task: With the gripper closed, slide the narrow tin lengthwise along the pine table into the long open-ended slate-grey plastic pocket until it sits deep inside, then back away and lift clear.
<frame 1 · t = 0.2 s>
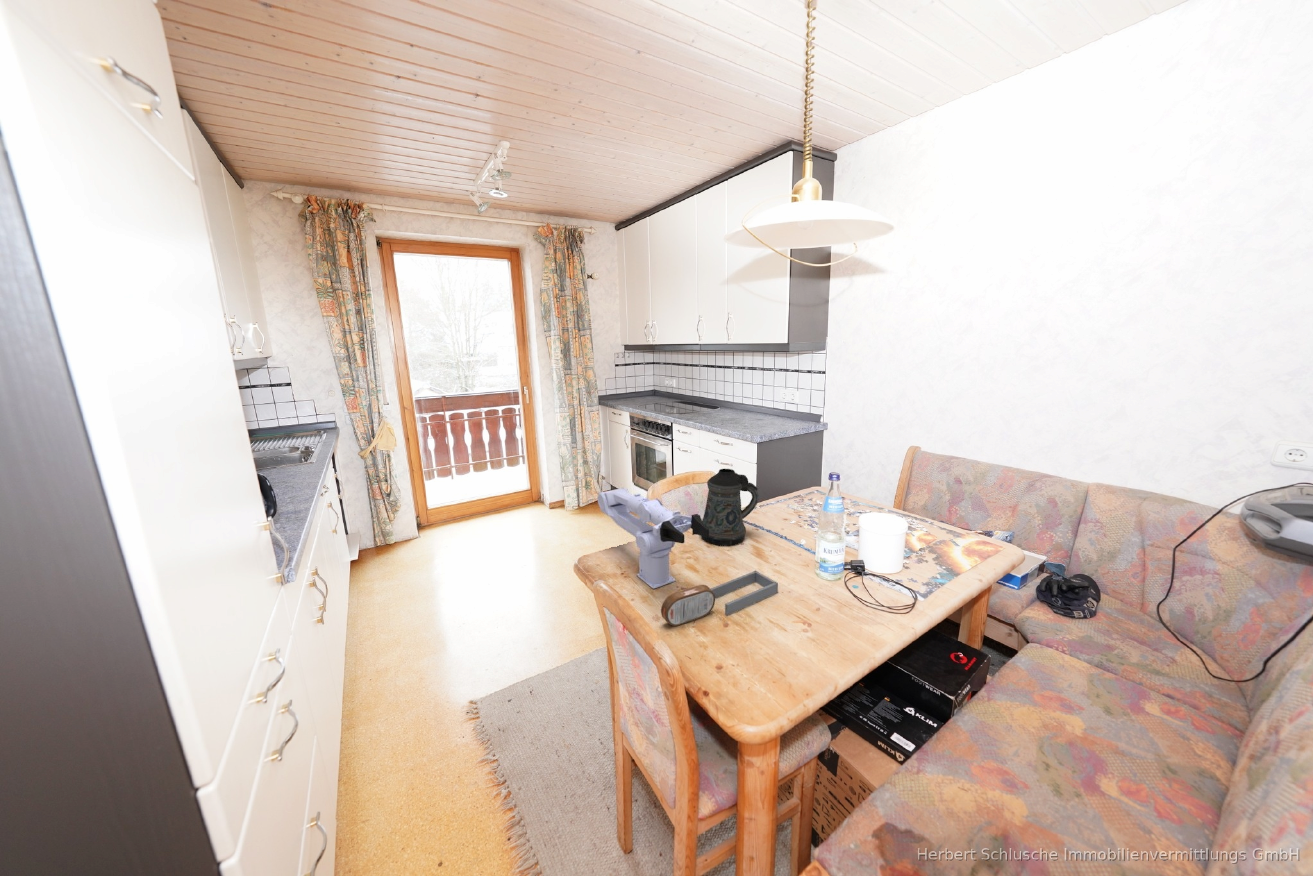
hand: (695, 536, 116), 21 cm above the table, tool horizontal, fingers open, 7 cm apart
beer stein: (726, 536, 165), on the table
pocket: (742, 596, 127), on the table
tin: (689, 620, 117), on the table
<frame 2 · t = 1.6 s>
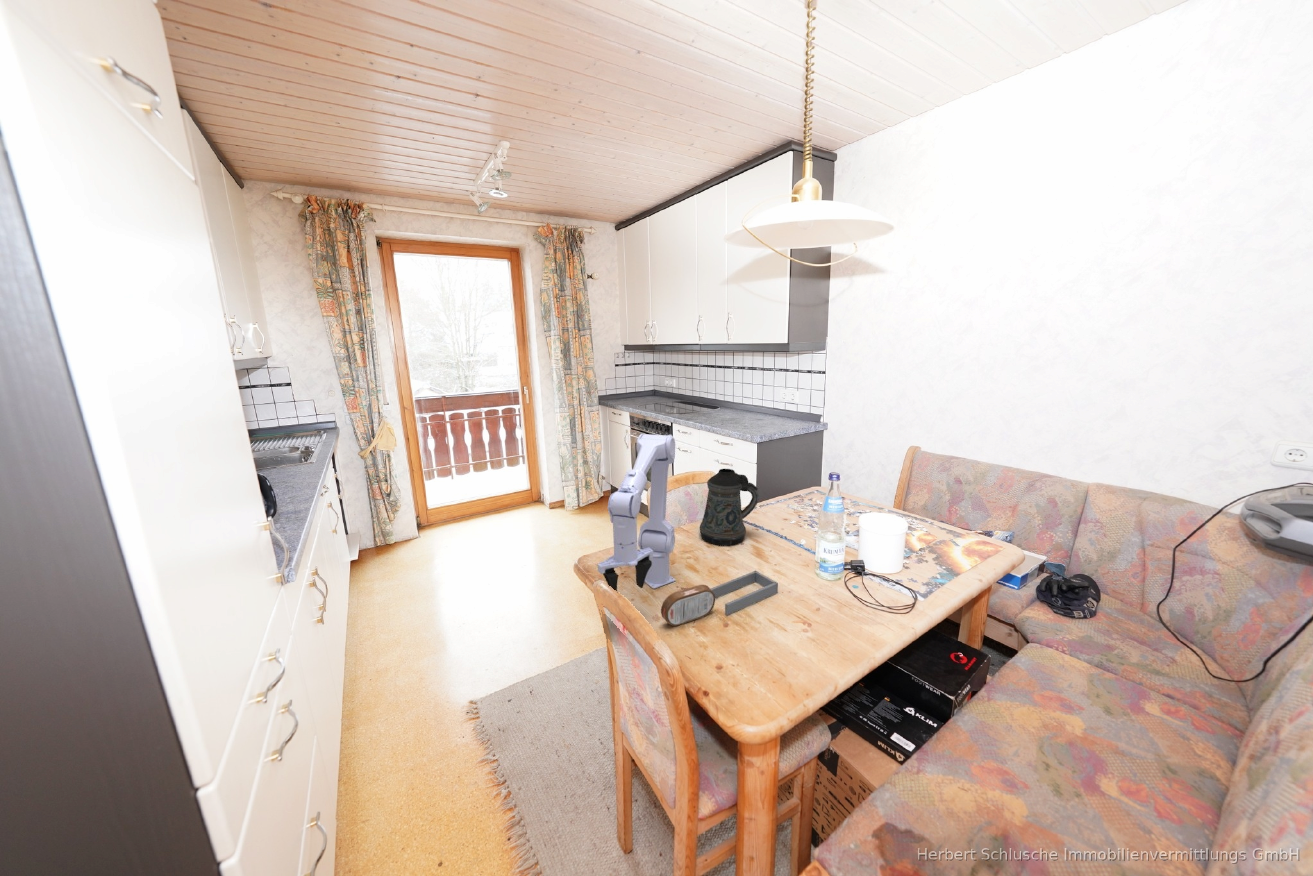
hand: (627, 590, 113), 9 cm above the table, tool pointing down, fingers open, 7 cm apart
nothing on the table moved.
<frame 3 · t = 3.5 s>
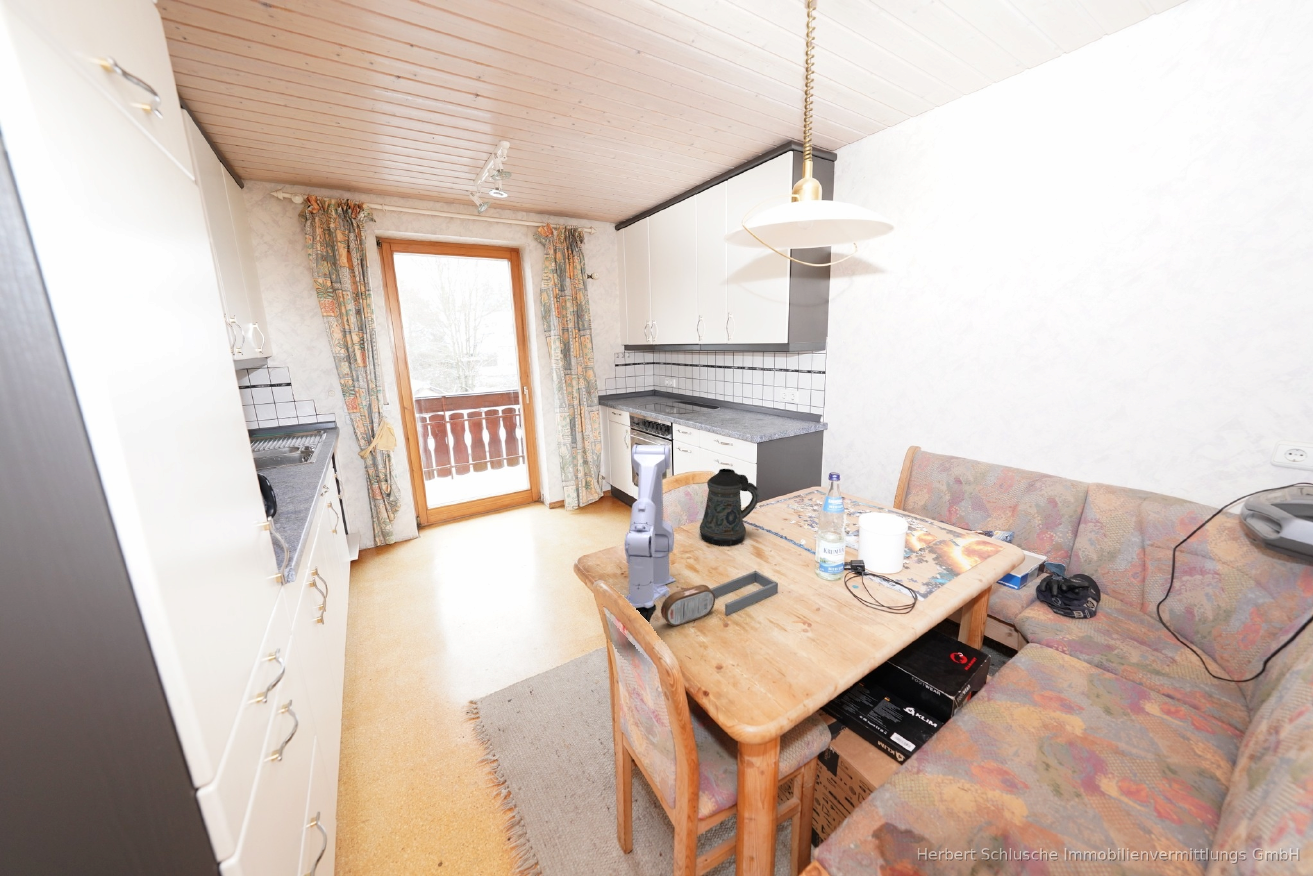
hand: (642, 631, 109), 2 cm above the table, tool pointing down, fingers closed
nothing on the table moved.
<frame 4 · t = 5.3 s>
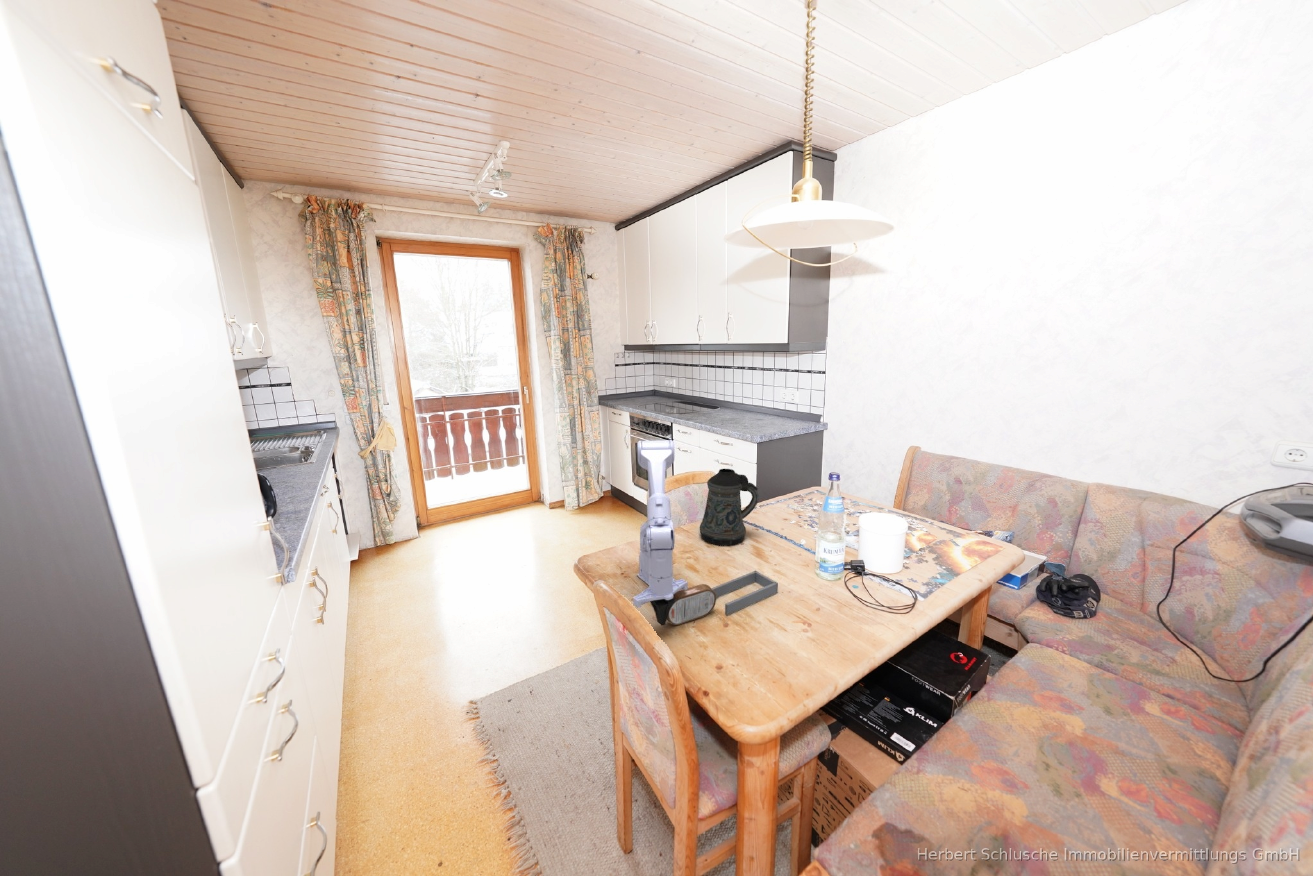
hand: (661, 623, 112), 2 cm above the table, tool pointing down, fingers closed
tin: (690, 619, 117), on the table, touching gripper
everything else where it was.
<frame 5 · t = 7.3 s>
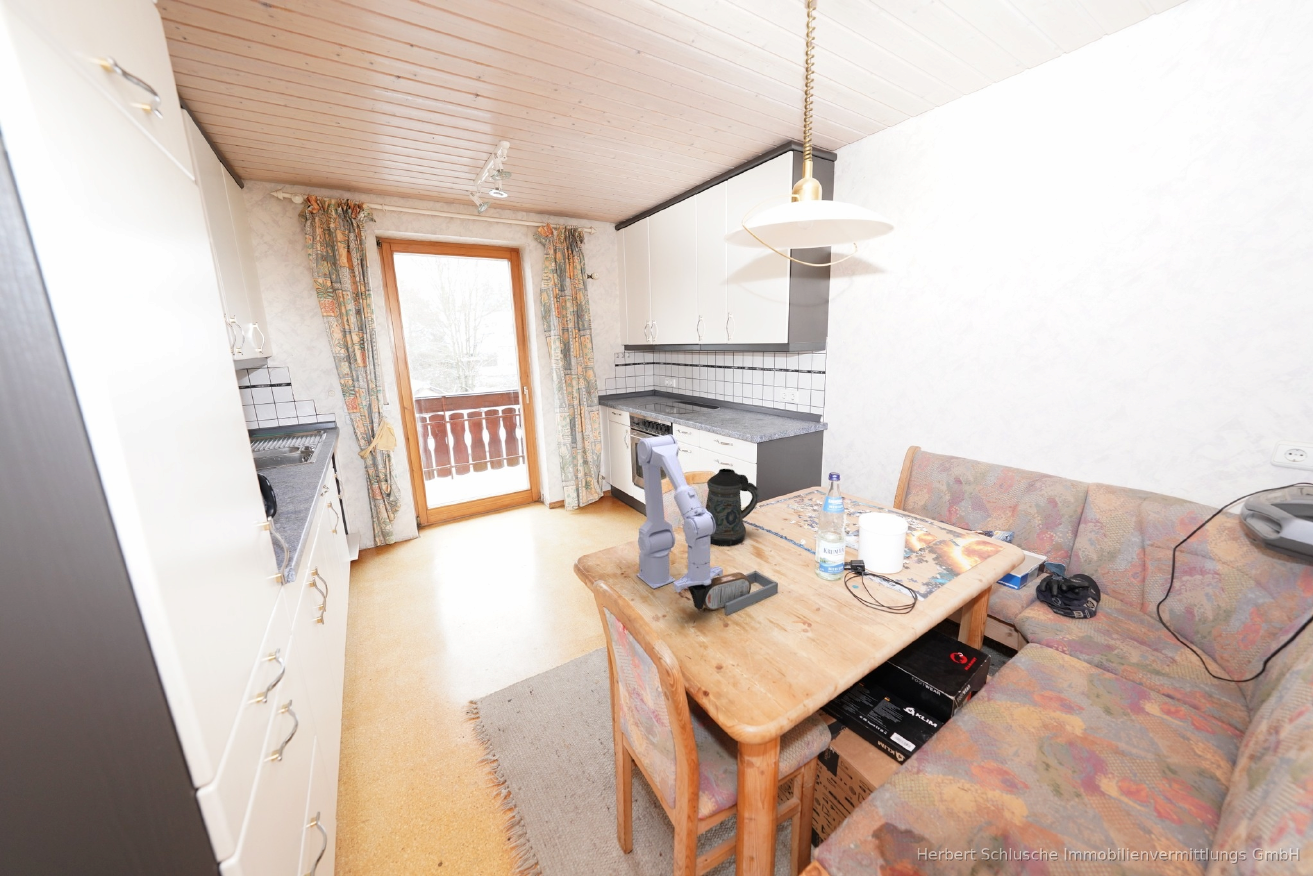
hand: (698, 607, 118), 2 cm above the table, tool pointing down, fingers closed
tin: (725, 605, 123), on the table, touching gripper
everything else where it was.
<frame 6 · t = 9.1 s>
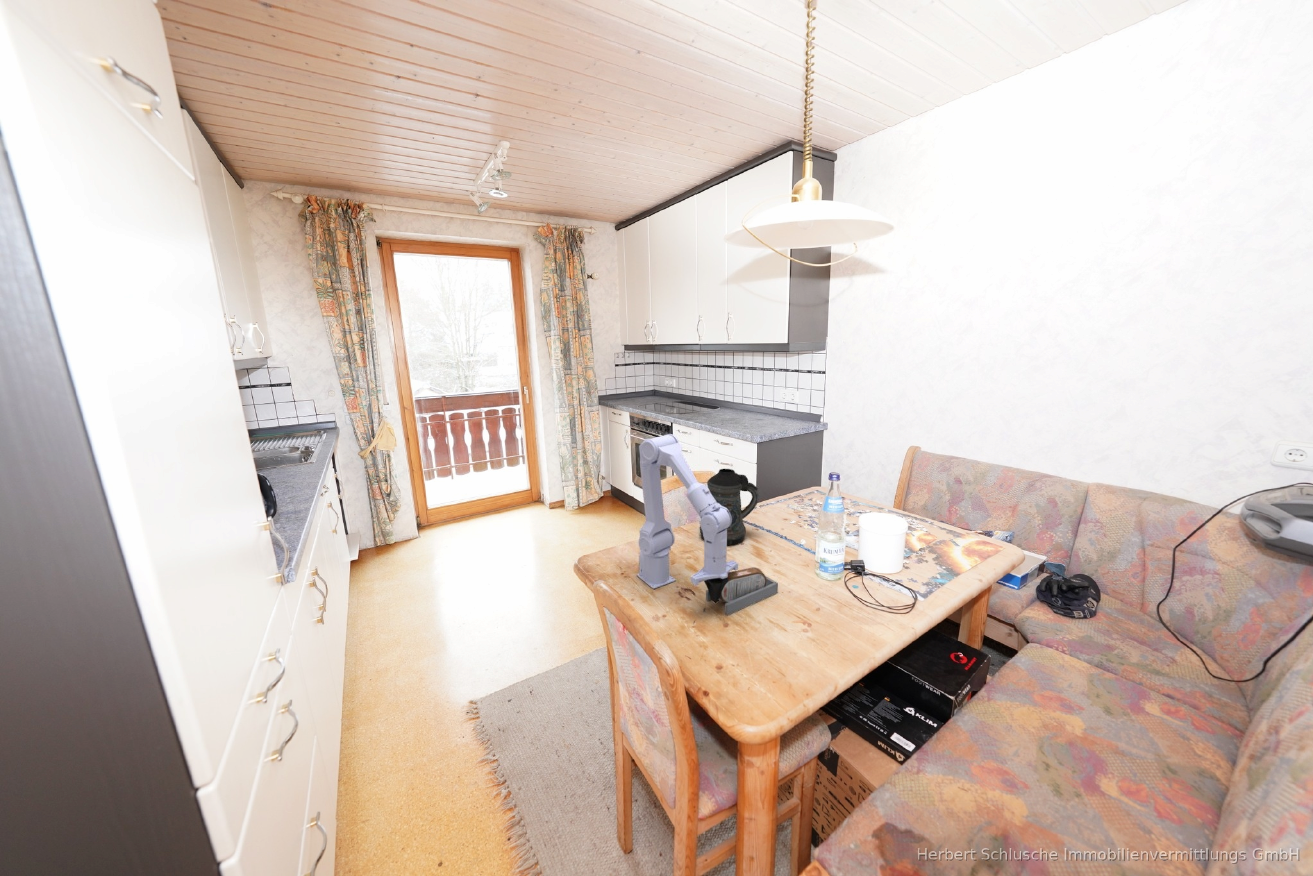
hand: (714, 600, 121), 2 cm above the table, tool pointing down, fingers closed
tin: (741, 599, 126), on the table, touching gripper
everything else where it was.
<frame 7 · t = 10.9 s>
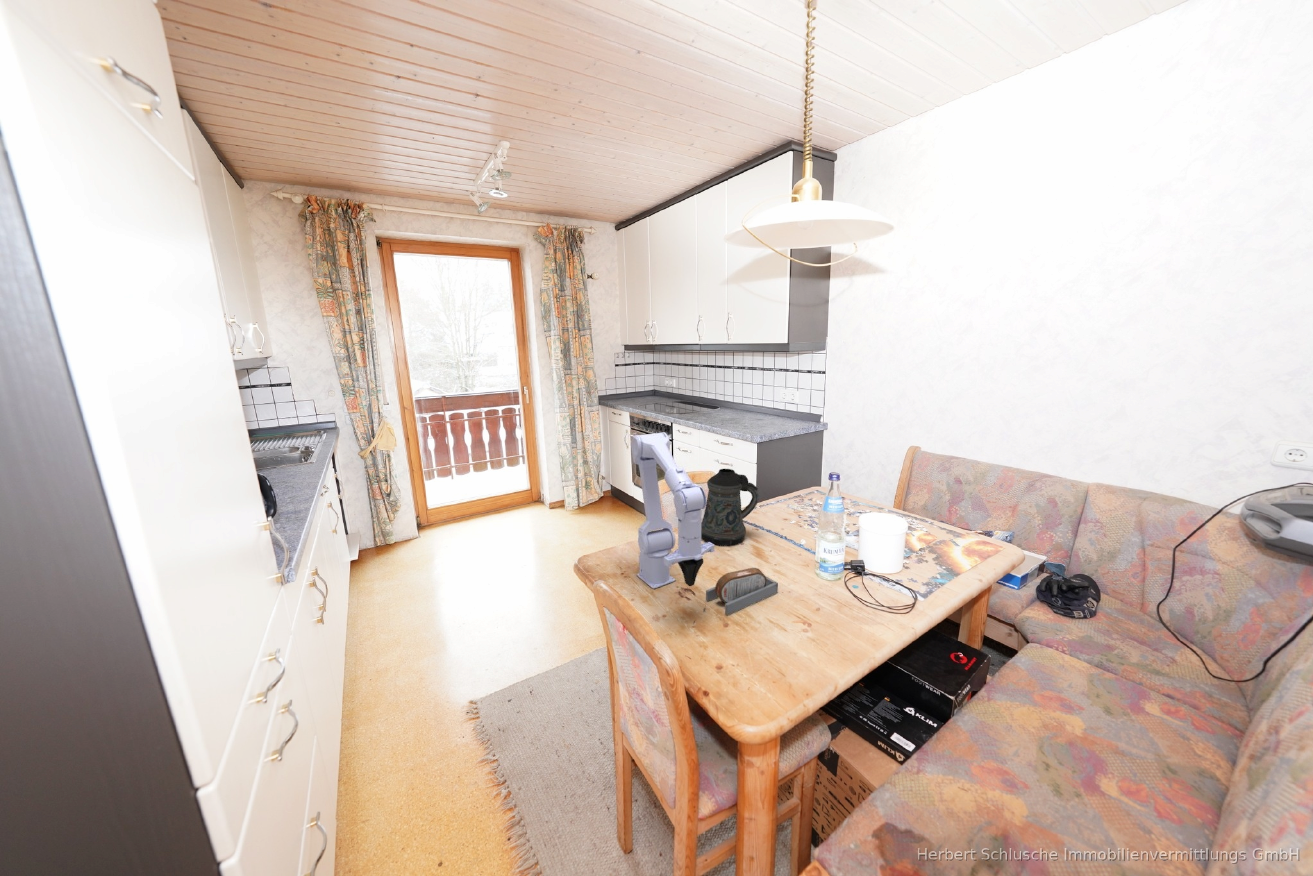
hand: (689, 584, 116), 9 cm above the table, tool pointing down, fingers closed
tin: (741, 600, 126), on the table
everything else where it was.
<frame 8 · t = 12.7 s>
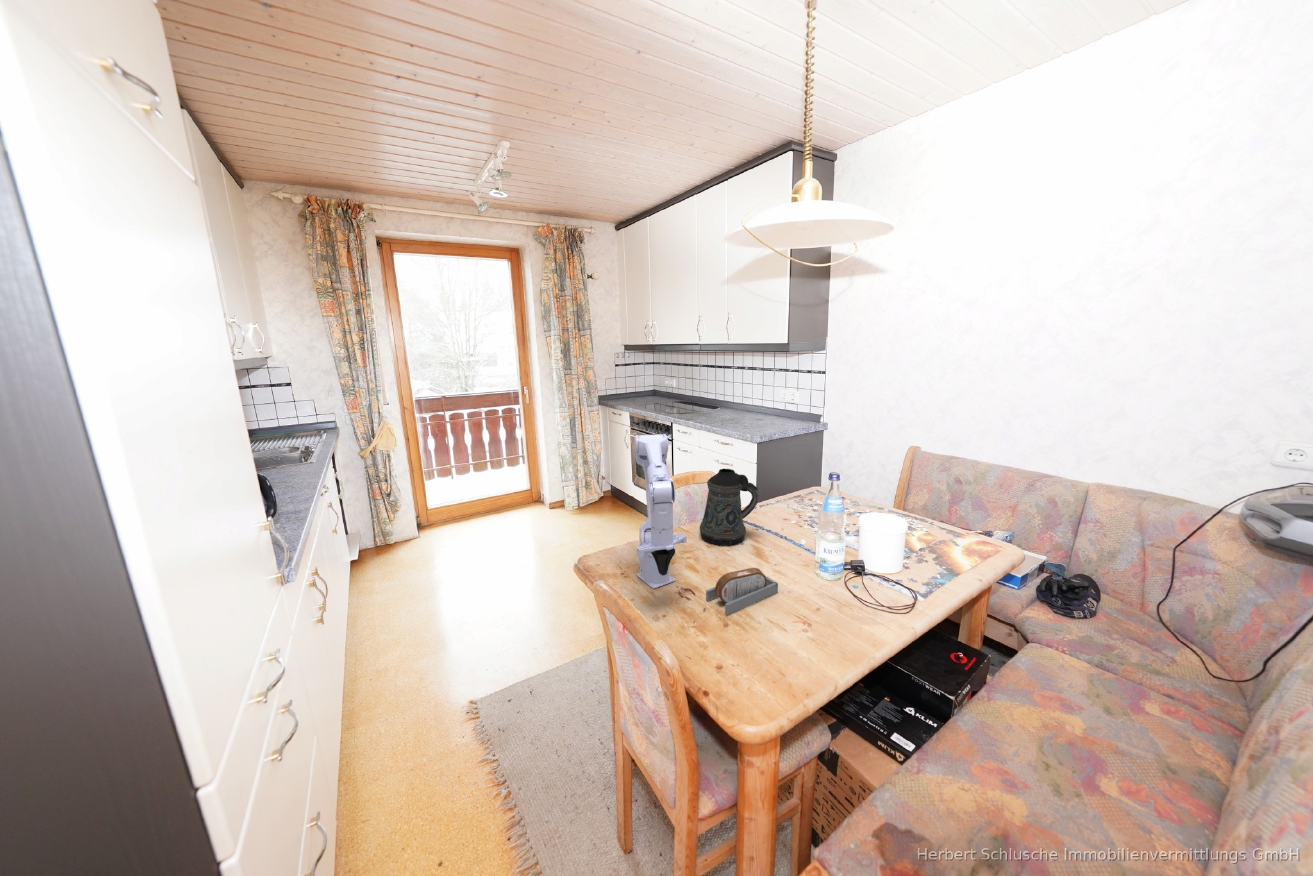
hand: (662, 573, 121), 9 cm above the table, tool pointing down, fingers closed
nothing on the table moved.
at the end: tin 0.8 cm from the target spot on the pocket, point 0.0 cm above the pocket's base; tin tilted 0°; tin moved 17.3 cm from its start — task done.
